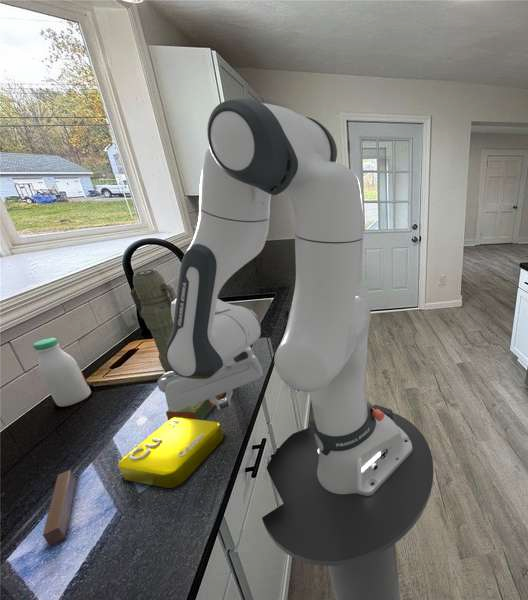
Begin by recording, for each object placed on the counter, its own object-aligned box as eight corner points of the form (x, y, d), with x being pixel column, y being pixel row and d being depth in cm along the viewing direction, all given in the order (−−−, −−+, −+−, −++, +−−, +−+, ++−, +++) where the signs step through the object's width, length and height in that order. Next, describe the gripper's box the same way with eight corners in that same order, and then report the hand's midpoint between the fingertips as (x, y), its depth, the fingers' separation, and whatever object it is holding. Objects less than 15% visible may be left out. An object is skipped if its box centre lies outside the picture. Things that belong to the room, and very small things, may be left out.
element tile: (177, 490, 65) (169, 473, 63) (119, 480, 68) (111, 463, 66) (227, 435, 78) (222, 420, 77) (178, 428, 81) (172, 414, 80)
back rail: (76, 479, 69) (70, 469, 67) (65, 538, 57) (58, 527, 56) (64, 484, 67) (57, 474, 66) (50, 546, 56) (42, 535, 55)
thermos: (167, 364, 111) (131, 270, 98) (203, 359, 113) (173, 266, 100) (154, 379, 103) (113, 278, 90) (193, 373, 105) (158, 274, 92)
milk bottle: (92, 397, 95) (63, 340, 88) (56, 411, 90) (22, 351, 83) (91, 387, 101) (63, 332, 93) (57, 399, 96) (25, 342, 88)
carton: (232, 386, 97) (229, 375, 96) (199, 424, 82) (194, 411, 81) (206, 386, 98) (203, 375, 96) (169, 424, 83) (164, 411, 81)
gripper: (155, 383, 64) (175, 435, 69) (258, 348, 76) (269, 394, 81) (153, 370, 68) (172, 419, 74) (251, 339, 80) (262, 383, 85)
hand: (224, 406), depth 77 cm, fingers closed
